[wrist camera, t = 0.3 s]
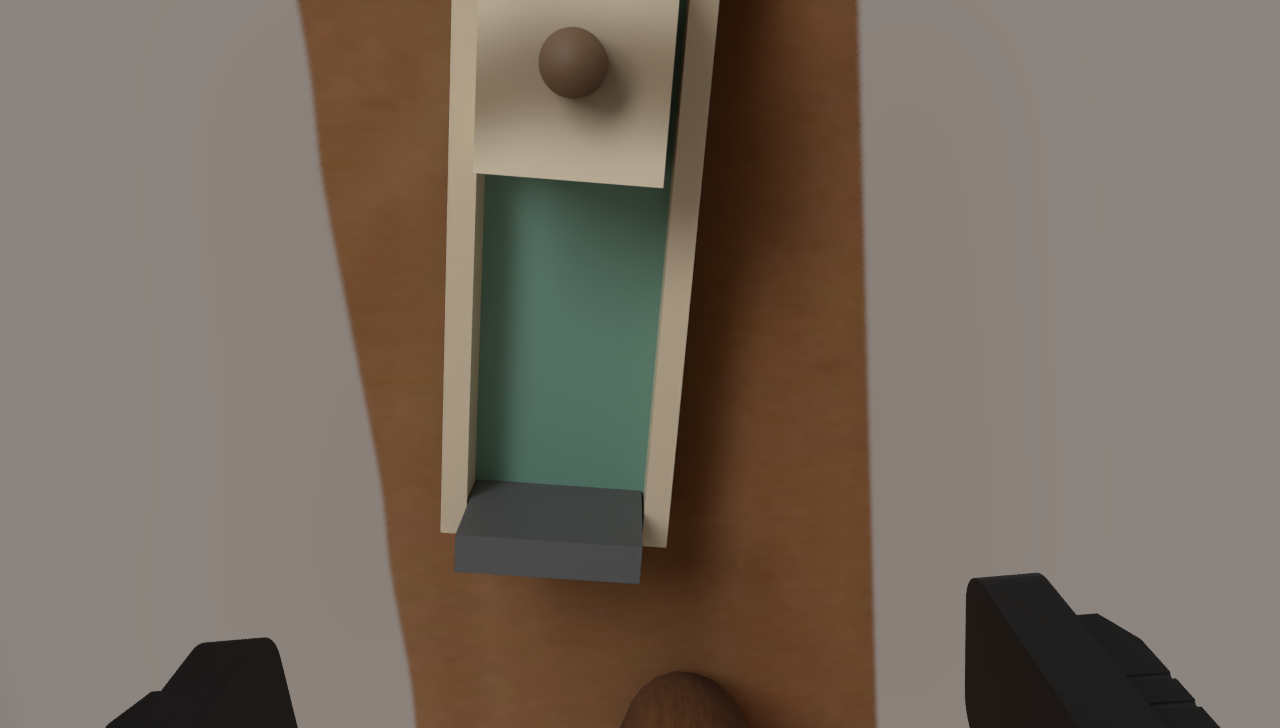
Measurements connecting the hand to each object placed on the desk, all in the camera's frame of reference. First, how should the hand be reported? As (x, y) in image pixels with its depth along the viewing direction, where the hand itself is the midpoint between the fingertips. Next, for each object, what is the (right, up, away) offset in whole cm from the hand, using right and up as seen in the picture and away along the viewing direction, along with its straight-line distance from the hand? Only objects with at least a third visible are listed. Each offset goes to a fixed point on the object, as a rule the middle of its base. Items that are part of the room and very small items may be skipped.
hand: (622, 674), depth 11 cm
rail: (-2, +9, +26) cm, 27 cm away
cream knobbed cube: (-2, +14, +23) cm, 27 cm away
